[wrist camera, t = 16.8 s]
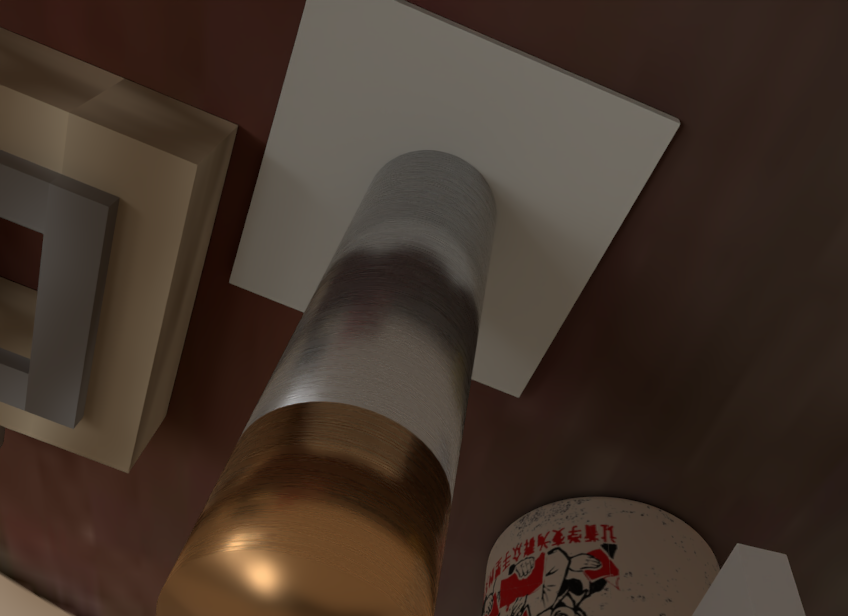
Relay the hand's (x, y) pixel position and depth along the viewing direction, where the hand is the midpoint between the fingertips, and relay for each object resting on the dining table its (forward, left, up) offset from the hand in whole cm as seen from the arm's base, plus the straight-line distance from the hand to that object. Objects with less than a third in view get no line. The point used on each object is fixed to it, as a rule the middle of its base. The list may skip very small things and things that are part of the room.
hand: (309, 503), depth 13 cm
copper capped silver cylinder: (0, 0, -12) cm, 12 cm away
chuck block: (-12, -8, -12) cm, 18 cm away
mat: (0, 0, -12) cm, 12 cm away
